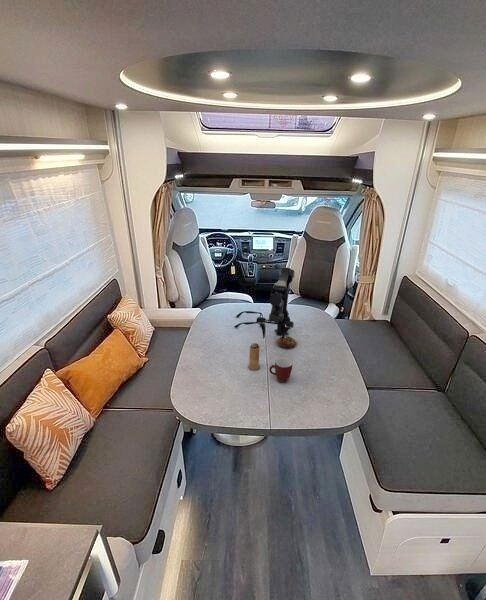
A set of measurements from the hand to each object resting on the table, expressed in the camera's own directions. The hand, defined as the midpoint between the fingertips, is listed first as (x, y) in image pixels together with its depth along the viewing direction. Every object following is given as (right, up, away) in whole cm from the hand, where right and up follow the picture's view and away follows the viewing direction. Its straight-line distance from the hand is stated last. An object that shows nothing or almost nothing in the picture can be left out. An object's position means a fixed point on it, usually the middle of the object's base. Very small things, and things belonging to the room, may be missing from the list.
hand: (272, 339), depth 157 cm
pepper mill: (-9, -14, 0) cm, 17 cm away
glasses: (-13, +5, +44) cm, 46 cm away
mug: (+3, -18, -9) cm, 21 cm away
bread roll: (+9, -5, +21) cm, 24 cm away
